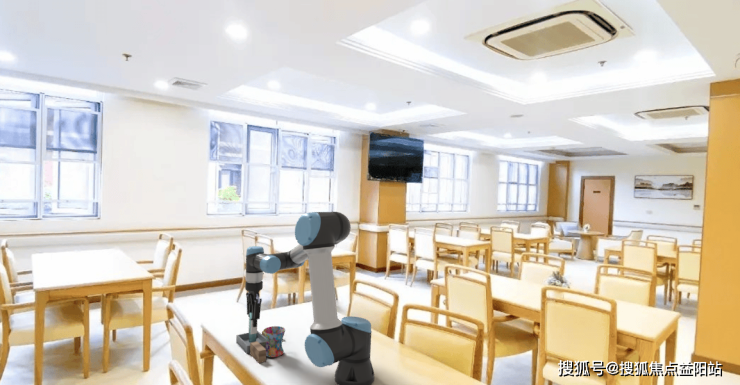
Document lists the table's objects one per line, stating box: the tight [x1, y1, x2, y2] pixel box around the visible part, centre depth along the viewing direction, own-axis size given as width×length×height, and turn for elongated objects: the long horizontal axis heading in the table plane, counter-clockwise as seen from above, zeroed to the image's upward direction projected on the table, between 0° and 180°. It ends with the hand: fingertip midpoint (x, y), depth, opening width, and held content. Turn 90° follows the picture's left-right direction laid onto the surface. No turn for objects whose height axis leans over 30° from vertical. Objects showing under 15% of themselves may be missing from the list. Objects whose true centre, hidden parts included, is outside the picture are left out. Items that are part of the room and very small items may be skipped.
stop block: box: [249, 341, 267, 364], centre depth 162 cm, size 10×3×5 cm, turn 37°
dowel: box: [248, 312, 256, 343], centre depth 174 cm, size 3×3×13 cm
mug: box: [262, 325, 286, 358], centre depth 167 cm, size 12×9×11 cm
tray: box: [235, 330, 266, 355], centre depth 174 cm, size 14×10×4 cm
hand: (252, 332), depth 174 cm, fingers closed on dowel, 2 cm apart
